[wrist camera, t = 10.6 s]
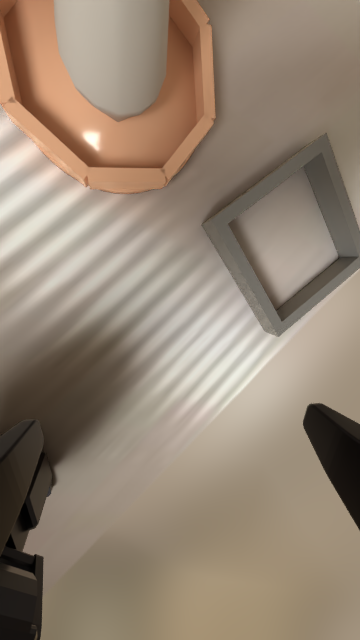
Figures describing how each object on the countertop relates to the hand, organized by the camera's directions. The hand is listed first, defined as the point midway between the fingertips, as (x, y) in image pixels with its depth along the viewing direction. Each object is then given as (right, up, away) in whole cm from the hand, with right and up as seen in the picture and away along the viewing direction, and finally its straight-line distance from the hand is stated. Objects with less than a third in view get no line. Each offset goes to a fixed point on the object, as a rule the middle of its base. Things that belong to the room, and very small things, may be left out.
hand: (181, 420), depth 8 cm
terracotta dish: (-5, +19, +8) cm, 21 cm away
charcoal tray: (+10, +10, +14) cm, 20 cm away
